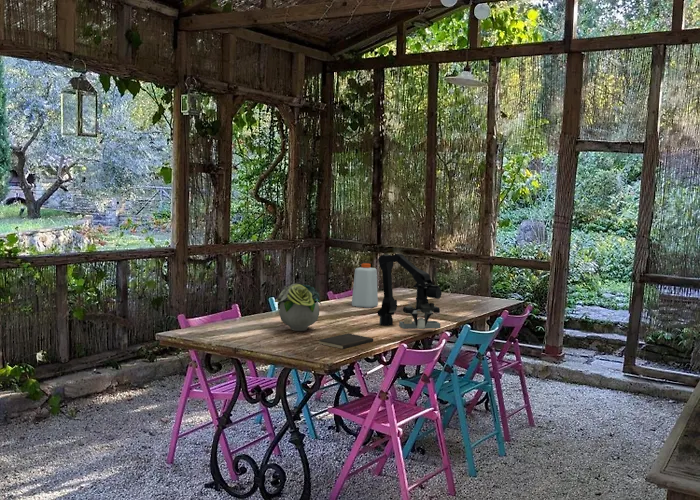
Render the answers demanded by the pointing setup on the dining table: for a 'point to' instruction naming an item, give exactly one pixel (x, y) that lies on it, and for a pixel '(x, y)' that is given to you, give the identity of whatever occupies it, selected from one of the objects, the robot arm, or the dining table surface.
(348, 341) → the hardcover book
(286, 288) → the flower arrangement
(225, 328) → the dining table surface
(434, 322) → the grey long rectangular tray
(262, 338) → the dining table surface
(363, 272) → the plastic bottle
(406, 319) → the brown egg
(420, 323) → the cream egg
